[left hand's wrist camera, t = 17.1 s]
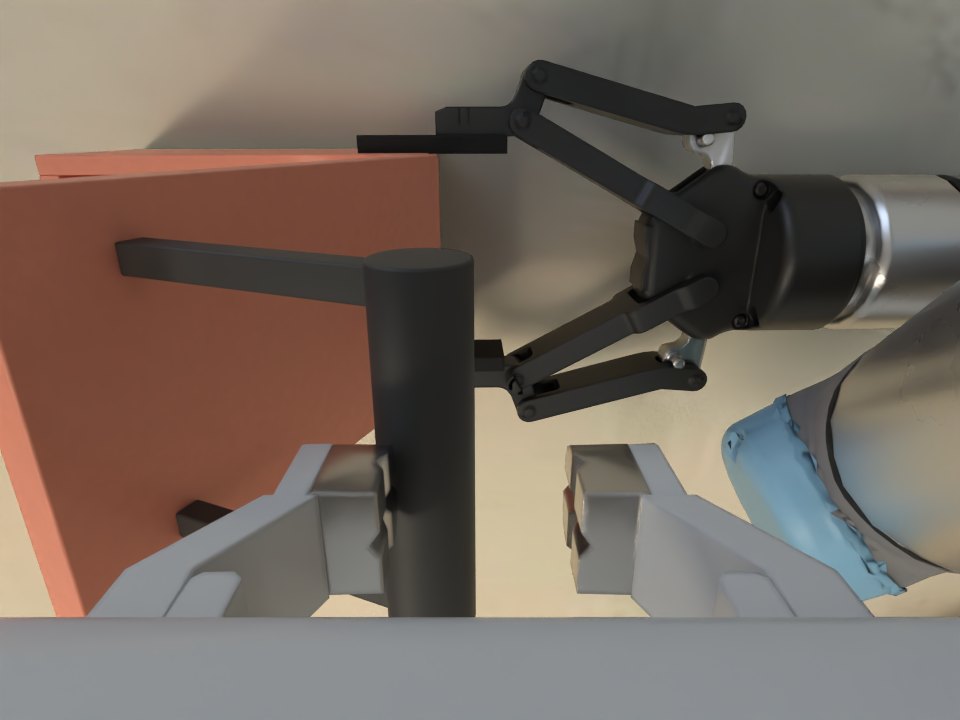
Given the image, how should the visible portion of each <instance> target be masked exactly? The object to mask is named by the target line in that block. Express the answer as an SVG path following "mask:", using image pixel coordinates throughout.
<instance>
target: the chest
mask: <svg viewBox="0 0 960 720" xmlns="http://www.w3.org/2000/svg"><path fill="white" fill-rule="evenodd" d="M414 154H421V155H436V154H429V153H358V148H348V149H134V150H120V151H102V152H83V153H64V154H46V155H35V160H36V164H37V168H38V172H39V175H41V176H40V180H44V179H59V178H74V177H88V176H103V175H118V174H133V173H148V172H162V171H177V170H192V169H207V168H222V167H237V166H251V165H266V164H281V163H296V162H311V161H325V160H340V159H355V158H370V157H385V156H400V155H414Z"/></svg>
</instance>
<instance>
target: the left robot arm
mask: <svg viewBox="0 0 960 720" xmlns="http://www.w3.org/2000/svg"><path fill="white" fill-rule="evenodd" d="M565 471H566V475H567V479H568V484H569V485H568V486H567V487H566V489H565V490H564V491H563V526H564V534H565V539H566V545H567V546H568V547H569V548H570V549H571V568H572V573H573V577H574V582H575V586H576V591H577V593H581V594H618V595H631V598H632V599H633V600H634V601H635V602H636V603H637V604H638V605H639V606H640V607H641V608H642V609H643V610H644V611H645V612H646V613H647V614H648V615H649V616H650V617H310V616H311V615H312V614H313V613H314V612H315V611H316V610H317V609H318V608H319V607H320V606H321V605H322V604H323V603H324V602H326V601H327V600H328V599H329V595H342V594H378V593H384V588H385V584H386V579H387V575H388V570H389V565H390V559H389V549H390V548H391V547H393V546H394V541H395V536H396V527H397V490H396V489H395V488H394V487H393V486H392V481H393V477H394V472H395V457H394V449H393V446H392V445H363V444H333V443H326V444H304V445H302V446H301V447H300V449H299V451H298V452H297V454H296V456H295V458H294V459H293V461H292V463H291V465H290V466H289V468H288V470H287V471H286V473H285V475H284V477H283V478H282V480H281V482H280V484H279V485H278V487H277V489H276V490H275V492H274V494H273V495H263V496H261V497H259V498H257V499H255V500H253V501H252V502H250V503H248V504H246V505H244V506H242V507H240V508H238V509H237V510H235V511H233V512H231V513H229V514H227V515H225V516H224V517H222V518H220V519H218V520H216V521H214V522H212V523H210V524H209V525H207V526H205V527H203V528H201V529H199V530H197V531H196V532H194V533H192V534H190V535H188V536H186V537H184V538H182V539H181V540H179V541H177V542H175V543H173V544H171V545H169V546H167V547H166V548H164V549H162V550H160V551H158V552H156V553H154V554H153V555H151V556H149V557H147V558H145V559H143V560H141V561H139V562H138V563H136V564H134V565H132V566H130V567H128V568H126V569H125V570H124V571H123V572H122V573H121V575H120V576H119V577H118V578H117V580H116V581H115V582H114V583H113V584H112V586H111V587H110V588H109V589H108V591H107V592H106V593H105V594H104V595H103V597H102V598H101V599H100V600H99V601H98V603H97V604H96V605H95V606H94V608H93V609H92V610H91V611H90V612H89V614H88V615H87V616H86V617H0V720H960V617H874V615H873V614H872V613H871V612H870V610H869V609H868V608H867V607H866V605H865V604H864V603H863V602H862V601H861V599H860V598H859V597H858V596H857V594H856V593H855V592H854V591H853V590H852V588H851V587H850V586H849V585H848V583H847V582H846V581H845V580H844V578H843V577H842V576H841V575H840V574H839V572H838V571H837V570H836V569H834V568H832V567H830V566H828V565H826V564H824V563H823V562H821V561H819V560H817V559H815V558H813V557H811V556H809V555H808V554H806V553H804V552H802V551H800V550H798V549H796V548H795V547H793V546H791V545H789V544H787V543H785V542H783V541H782V540H780V539H778V538H776V537H774V536H772V535H770V534H768V533H767V532H765V531H763V530H761V529H759V528H757V527H755V526H754V525H752V524H750V523H748V522H746V521H744V520H742V519H740V518H739V517H737V516H735V515H733V514H731V513H729V512H727V511H726V510H724V509H722V508H720V507H718V506H716V505H714V504H713V503H711V502H709V501H707V500H705V499H703V498H701V497H699V496H698V495H687V493H686V492H685V490H684V488H683V486H682V485H681V483H680V481H679V480H678V478H677V476H676V475H675V473H674V471H673V469H672V468H671V466H670V464H669V463H668V461H667V459H666V458H665V456H664V454H663V452H662V451H661V449H660V447H659V446H658V445H657V444H655V443H648V444H602V445H569V446H567V451H566V459H565Z"/></svg>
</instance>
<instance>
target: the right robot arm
mask: <svg viewBox="0 0 960 720" xmlns="http://www.w3.org/2000/svg"><path fill="white" fill-rule="evenodd" d="M545 99H547V100H551V101H554V102H557V103H561V104H564V105H568V106H571V107H574V108H578V109H581V110H585V111H588V112H591V113H595V114H598V115H601V116H605V117H608V118H612V119H615V120H618V121H622V122H625V123H629V124H632V125H635V126H639V127H642V128H645V129H649V130H652V131H656V132H660V133H664V134H671V135H682V143H683V146H684V148H685V149H686V150H687V151H689V152H693V153H697V154H699V155H700V156H701V157H702V159H703V161H704V167H702V168H700V169H699V170H698V171H696V172H695V173H693V174H692V175H690V176H689V177H688V178H686V179H685V180H683V181H682V182H681V183H679V184H678V185H676V186H675V187H673V188H672V189H671V190H669V191H668V190H666V189H664V188H663V187H661V186H659V185H658V184H656V183H654V182H652V181H650V180H648V179H646V178H644V177H643V176H641V175H639V174H638V173H636V172H634V171H633V170H631V169H629V168H628V167H626V166H624V165H623V164H621V163H619V162H618V161H616V160H614V159H613V158H611V157H610V156H608V155H606V154H605V153H603V152H601V151H600V150H598V149H596V148H595V147H593V146H591V145H590V144H588V143H586V142H585V141H583V140H581V139H580V138H578V137H576V136H575V135H573V134H571V133H570V132H568V131H566V130H565V129H563V128H562V127H560V126H558V125H557V124H555V123H553V122H552V121H550V120H548V119H547V118H545V117H543V116H542V115H540V114H539V113H540V110H541V108H542V105H543V102H544V100H545ZM745 120H746V110H745V108H744V107H743V106H742V105H741V104H739V103H723V104H713V105H702V106H693V105H689V104H686V103H683V102H679V101H676V100H673V99H670V98H666V97H663V96H660V95H656V94H653V93H650V92H647V91H643V90H640V89H637V88H633V87H630V86H627V85H624V84H620V83H617V82H614V81H610V80H607V79H604V78H600V77H597V76H594V75H591V74H587V73H584V72H581V71H577V70H574V69H571V68H568V67H564V66H561V65H558V64H554V63H551V62H548V61H544V60H536V61H534V62H532V63H531V64H530V65H529V66H528V67H527V68H526V69H525V70H524V71H523V72H522V75H521V77H520V81H519V84H518V87H517V90H516V93H515V96H514V98H513V100H512V101H511V102H510V103H509V104H508V105H506V106H502V107H445V108H443V109H440V110H438V111H436V112H435V125H436V135H357V148H358V153H429V154H507V136H515V137H517V138H518V139H520V140H522V141H523V142H525V143H527V144H528V145H530V146H532V147H534V148H535V149H537V150H539V151H540V152H542V153H544V154H545V155H547V156H549V157H551V158H552V159H554V160H556V161H557V162H559V163H561V164H562V165H564V166H566V167H567V168H569V169H571V170H573V171H574V172H576V173H578V174H579V175H581V176H583V177H584V178H586V179H588V180H590V181H591V182H593V183H595V184H596V185H598V186H600V187H601V188H603V189H605V190H606V191H608V192H610V193H612V194H613V195H615V196H617V197H618V198H620V199H621V200H623V201H624V202H626V203H628V204H629V205H631V206H633V207H635V208H636V209H638V210H640V211H641V212H642V214H641V216H640V218H639V220H635V227H634V240H635V246H636V254H635V257H634V259H633V262H632V265H631V271H630V282H631V283H632V284H633V285H632V286H630V287H629V288H627V289H625V290H623V291H621V292H619V293H617V294H616V295H615V296H614V297H613V298H612V300H610V301H609V302H607V303H605V304H603V305H601V306H599V307H597V308H595V309H593V310H591V311H590V312H588V313H586V314H584V315H582V316H580V317H578V318H576V319H574V320H572V321H570V322H568V323H567V324H565V325H563V326H561V327H559V328H557V329H555V330H553V331H551V332H549V333H547V334H545V335H543V336H542V337H540V338H538V339H536V340H534V341H532V342H530V343H528V344H526V345H524V346H522V347H520V348H519V349H517V350H515V351H513V352H511V353H509V354H507V355H506V356H504V353H503V347H502V342H501V340H474V388H477V387H500V388H504V389H506V390H507V391H508V392H509V393H510V395H511V396H512V399H513V402H514V404H515V407H516V409H517V413H518V416H519V418H520V419H521V420H523V421H525V422H532V421H536V420H540V419H544V418H548V417H552V416H556V415H560V414H564V413H568V412H572V411H576V410H580V409H584V408H588V407H592V406H596V405H600V404H604V403H607V402H611V401H615V400H619V399H623V398H627V397H631V396H635V395H639V394H643V393H647V392H651V391H655V390H659V389H670V390H684V391H698V390H700V389H702V388H703V387H704V386H705V384H706V382H707V376H706V374H705V373H704V372H703V371H702V370H701V368H700V367H701V363H702V358H703V354H704V350H705V346H706V341H707V339H710V338H712V337H714V336H716V335H718V334H720V333H723V332H726V331H729V330H813V329H818V328H821V327H824V328H827V329H834V330H847V329H881V328H898V329H897V330H895V331H894V332H893V333H891V334H890V335H889V336H888V337H886V338H885V339H884V340H882V341H881V342H880V343H879V344H877V345H876V346H875V347H873V348H872V349H870V350H868V351H866V352H865V353H864V354H862V355H861V356H860V357H858V358H857V359H856V360H855V361H853V362H852V363H851V364H849V365H848V366H847V367H845V368H844V369H843V370H842V371H840V372H839V373H837V374H835V375H833V376H832V377H830V378H828V379H826V380H824V381H822V382H819V383H817V384H815V385H812V386H810V387H808V388H805V389H803V390H801V391H799V392H796V393H794V394H792V395H788V396H786V394H785V395H782V396H780V397H778V398H776V399H775V401H774V402H773V404H771V405H769V406H767V407H765V408H764V409H762V410H760V411H758V412H756V413H754V414H752V415H750V416H748V417H746V418H744V419H742V420H740V421H738V422H736V423H734V424H733V425H732V426H730V427H729V428H728V429H727V431H726V432H725V434H724V436H723V439H722V445H721V450H722V458H723V461H724V465H725V467H726V470H727V473H728V476H729V478H730V480H731V483H732V485H733V487H734V489H735V491H736V494H737V496H738V498H739V500H740V502H741V504H742V506H743V508H744V509H745V511H746V513H747V515H748V517H749V519H750V521H751V523H752V524H753V525H754V526H755V527H757V528H759V529H761V530H763V531H765V532H767V533H768V534H770V535H772V536H774V537H776V538H778V539H780V540H782V541H783V542H785V543H787V544H789V545H791V546H793V547H795V548H796V549H798V550H800V551H802V552H804V553H806V554H808V555H809V556H811V557H813V558H815V559H817V560H819V561H821V562H823V563H824V564H826V565H828V566H830V567H832V568H834V569H836V570H837V571H838V572H839V574H840V575H841V576H842V577H843V578H844V580H845V581H846V582H847V583H848V585H849V586H850V587H851V588H852V590H853V591H854V592H855V593H856V594H857V596H858V597H859V598H860V599H861V601H865V600H869V599H872V598H875V597H878V596H882V595H885V594H889V595H894V596H897V595H899V594H902V593H904V592H907V589H906V588H905V587H907V586H910V585H912V584H914V583H917V582H919V581H921V580H924V579H926V578H928V577H931V576H934V575H938V574H941V573H945V572H949V573H957V574H960V176H947V175H934V174H852V175H842V176H840V177H838V178H837V177H835V176H832V175H749V174H747V173H744V172H742V171H741V170H739V169H738V168H736V167H734V166H733V150H734V133H735V131H737V130H738V129H740V128H741V127H742V126H743V124H744V123H745ZM666 321H669V322H670V323H672V324H673V325H674V326H676V327H677V328H678V329H680V330H681V331H682V334H681V336H680V337H679V339H677V340H676V341H674V342H670V343H666V344H662V345H661V346H660V348H659V350H658V352H655V351H651V352H642V353H637V354H633V355H629V356H625V357H621V358H617V359H614V360H610V361H606V362H602V363H598V364H594V365H590V366H586V367H582V368H579V369H575V370H571V371H567V372H563V373H559V374H555V375H552V374H554V373H556V372H558V371H560V370H562V369H564V368H566V367H568V366H570V365H572V364H574V363H576V362H578V361H580V360H582V359H584V358H586V357H588V356H590V355H591V354H593V353H595V352H597V351H599V350H601V349H603V348H605V347H607V346H609V345H611V344H613V343H615V342H617V341H619V340H621V339H623V338H625V337H627V336H629V335H631V334H634V333H643V332H646V331H648V330H650V329H652V328H654V327H656V326H658V325H660V324H662V323H664V322H666ZM550 375H551V376H550Z"/></svg>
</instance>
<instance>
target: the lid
mask: <svg viewBox="0 0 960 720" xmlns="http://www.w3.org/2000/svg"><path fill="white" fill-rule="evenodd" d="M374 428H375V439H376V445H392V446H393V449H394V457H395V472H394V477H393V481H392V486H393V487H394V488H395V489H396V490H397V527H396V536H395V541H394V546H393V547H391V548H390V549H389V559H390V565H389V570H388V575H387V579H386V584H385V588H384V593H378V594H349V595H352V596H355V597H358V598H361V599H364V600H367V601H370V602H373V603H376V604H378V605H381V606H384V607H387V608H388V615H389V617H475V615H476V583H475V398H474V260H473V257H472V256H471V255H469V254H467V253H464V252H461V251H457V250H451V249H441V239H440V199H439V160H438V155H421V154H414V155H400V156H385V157H370V158H355V159H340V160H325V161H311V162H296V163H281V164H266V165H251V166H237V167H222V168H207V169H192V170H177V171H162V172H148V173H133V174H118V175H103V176H88V177H74V178H59V179H44V180H29V181H14V182H0V450H1V453H2V456H3V459H4V462H5V465H6V468H7V471H8V474H9V477H10V480H11V483H12V486H13V489H14V492H15V494H16V497H17V500H18V503H19V506H20V509H21V512H22V515H23V518H24V521H25V524H26V527H27V530H28V533H29V536H30V539H31V542H32V545H33V548H34V551H35V554H36V557H37V560H38V563H39V566H40V569H41V572H42V575H43V578H44V581H45V584H46V587H47V590H48V593H49V596H50V599H51V602H52V605H53V608H54V611H55V614H56V617H86V616H87V615H88V614H89V612H90V611H91V610H92V609H93V608H94V606H95V605H96V604H97V603H98V601H99V600H100V599H101V598H102V597H103V595H104V594H105V593H106V592H107V591H108V589H109V588H110V587H111V586H112V584H113V583H114V582H115V581H116V580H117V578H118V577H119V576H120V575H121V573H122V572H123V571H124V570H125V569H126V568H128V567H130V566H132V565H134V564H136V563H138V562H139V561H141V560H143V559H145V558H147V557H149V556H151V555H153V554H154V553H156V552H158V551H160V550H162V549H164V548H166V547H167V546H169V545H171V544H173V543H175V542H177V541H179V540H181V539H182V538H184V537H186V536H188V535H190V534H192V533H194V532H196V531H197V530H199V529H201V528H203V527H205V526H207V525H209V524H210V523H212V522H214V521H216V520H218V519H220V518H222V517H224V516H225V515H227V514H229V513H231V512H233V511H235V510H237V509H238V508H240V507H242V506H244V505H246V504H248V503H250V502H252V501H253V500H255V499H257V498H259V497H261V496H263V495H273V494H274V492H275V490H276V489H277V487H278V485H279V484H280V482H281V480H282V478H283V477H284V475H285V473H286V471H287V470H288V468H289V466H290V465H291V463H292V461H293V459H294V458H295V456H296V454H297V452H298V451H299V449H300V447H301V446H302V445H304V444H326V443H333V444H355V443H357V442H358V441H359V440H360V439H362V438H363V437H364V436H366V435H367V434H368V433H369V432H371V431H372V430H373V429H374Z"/></svg>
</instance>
